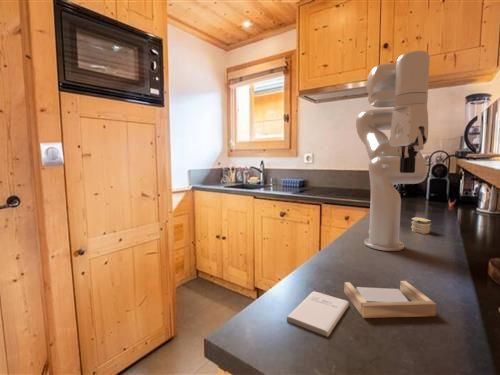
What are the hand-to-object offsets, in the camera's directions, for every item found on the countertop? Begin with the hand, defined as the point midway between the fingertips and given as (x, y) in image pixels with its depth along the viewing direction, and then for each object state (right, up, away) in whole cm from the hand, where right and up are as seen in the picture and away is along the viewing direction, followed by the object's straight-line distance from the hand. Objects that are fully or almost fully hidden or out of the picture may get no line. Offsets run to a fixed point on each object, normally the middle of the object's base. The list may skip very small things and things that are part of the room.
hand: (407, 172), depth 73 cm
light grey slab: (-14, -30, -15) cm, 36 cm away
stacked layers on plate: (+29, -23, +41) cm, 55 cm away
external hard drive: (-28, -30, -18) cm, 45 cm away
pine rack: (-13, -29, -14) cm, 35 cm away
